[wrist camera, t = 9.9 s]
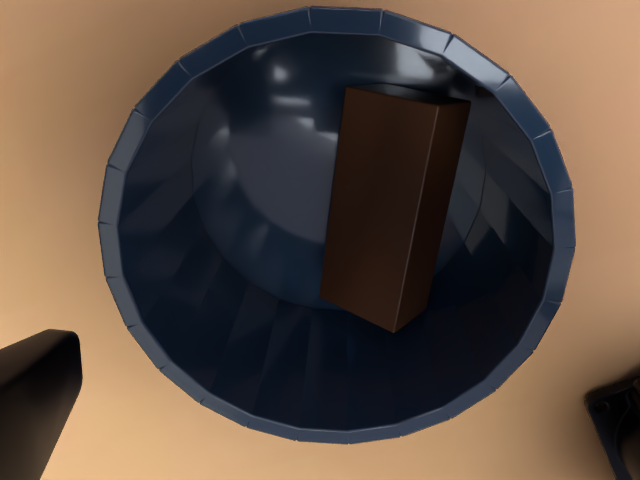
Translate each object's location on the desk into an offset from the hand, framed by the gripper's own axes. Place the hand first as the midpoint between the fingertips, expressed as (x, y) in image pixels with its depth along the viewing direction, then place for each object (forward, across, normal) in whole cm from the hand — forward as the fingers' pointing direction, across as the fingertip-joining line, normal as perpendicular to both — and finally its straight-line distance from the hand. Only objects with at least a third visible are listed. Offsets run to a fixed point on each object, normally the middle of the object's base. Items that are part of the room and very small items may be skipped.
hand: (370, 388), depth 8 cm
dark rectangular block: (+10, 0, 0) cm, 10 cm away
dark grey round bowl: (+12, +1, 0) cm, 12 cm away
